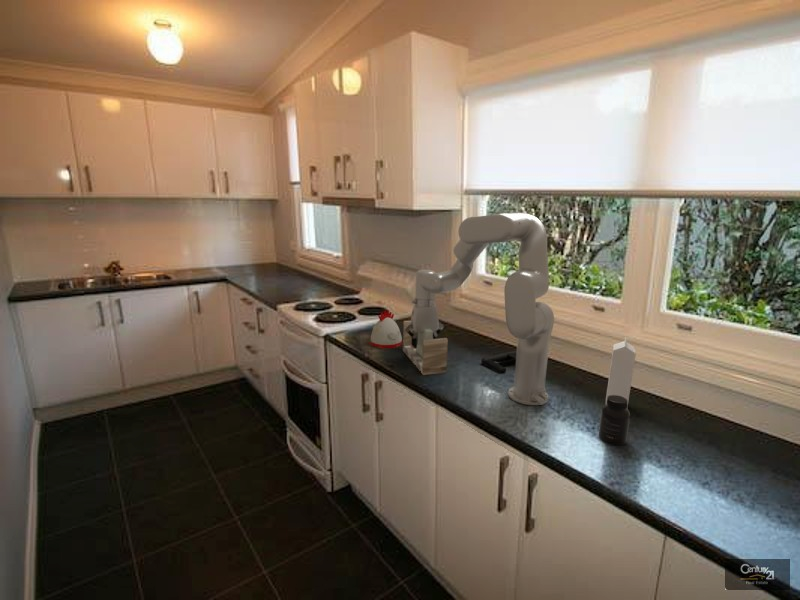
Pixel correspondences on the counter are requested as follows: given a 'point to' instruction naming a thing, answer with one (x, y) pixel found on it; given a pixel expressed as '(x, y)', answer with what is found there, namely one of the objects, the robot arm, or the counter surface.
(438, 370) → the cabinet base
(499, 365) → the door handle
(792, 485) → the counter surface
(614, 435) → the supplement bottle
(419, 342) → the door panel
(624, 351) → the milk
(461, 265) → the robot arm
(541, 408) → the counter surface
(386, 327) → the kitchen timer
